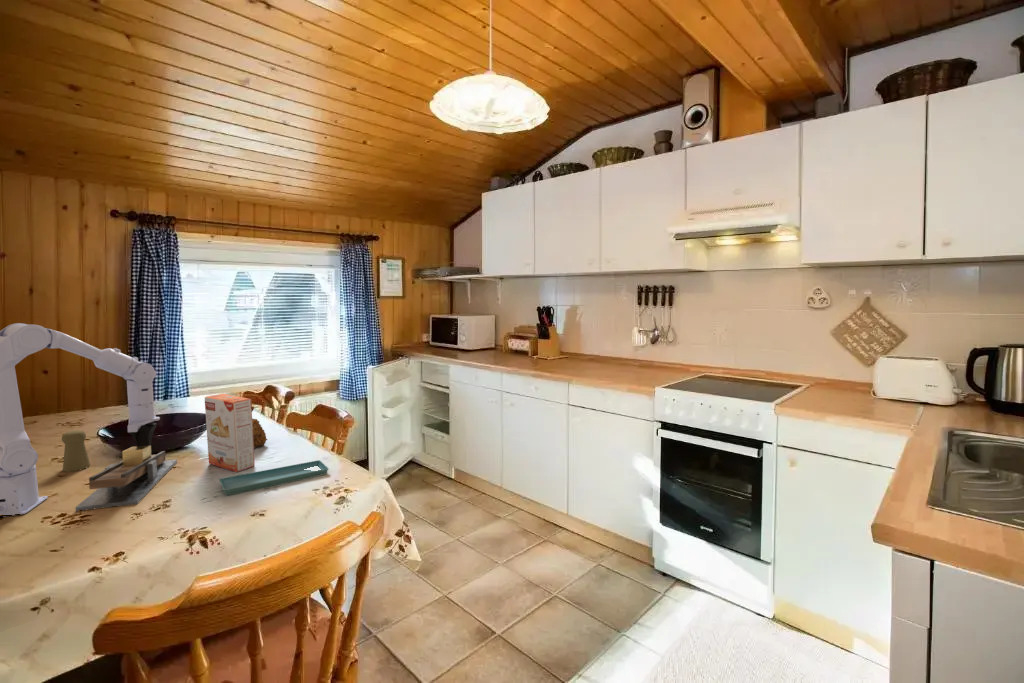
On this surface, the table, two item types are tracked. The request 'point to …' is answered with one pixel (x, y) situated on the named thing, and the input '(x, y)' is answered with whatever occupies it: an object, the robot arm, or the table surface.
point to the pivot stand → (127, 488)
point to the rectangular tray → (270, 477)
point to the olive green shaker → (75, 451)
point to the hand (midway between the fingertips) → (144, 450)
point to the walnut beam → (122, 473)
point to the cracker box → (229, 432)
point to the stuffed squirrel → (258, 433)
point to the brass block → (136, 455)
